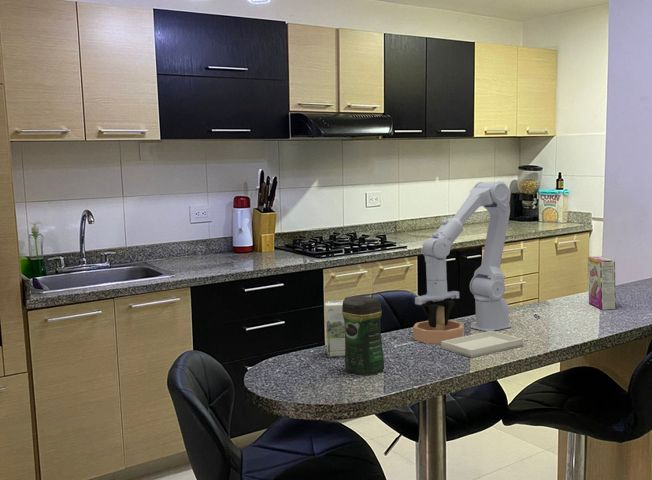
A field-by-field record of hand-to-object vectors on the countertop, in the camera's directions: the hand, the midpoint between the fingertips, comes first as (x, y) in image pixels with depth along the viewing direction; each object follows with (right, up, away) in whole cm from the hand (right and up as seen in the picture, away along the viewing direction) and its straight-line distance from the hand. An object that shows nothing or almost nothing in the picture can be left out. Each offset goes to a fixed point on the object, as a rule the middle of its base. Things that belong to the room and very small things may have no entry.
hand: (438, 325), depth 187 cm
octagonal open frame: (0, -3, 0) cm, 3 cm away
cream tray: (+10, -4, -13) cm, 16 cm away
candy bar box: (+60, +2, +29) cm, 66 cm away
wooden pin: (0, -3, 0) cm, 3 cm away
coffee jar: (-23, -8, -28) cm, 37 cm away
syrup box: (-29, -6, -12) cm, 32 cm away
